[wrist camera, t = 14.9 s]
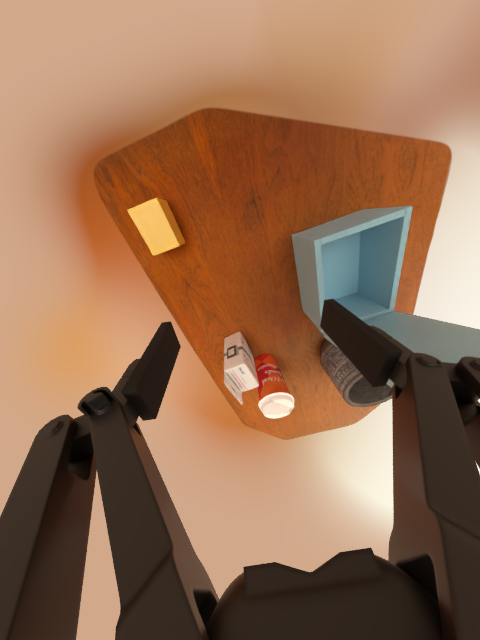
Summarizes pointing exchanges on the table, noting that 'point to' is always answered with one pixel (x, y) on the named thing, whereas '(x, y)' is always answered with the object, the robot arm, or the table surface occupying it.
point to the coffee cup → (272, 388)
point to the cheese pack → (157, 225)
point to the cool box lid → (428, 336)
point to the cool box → (352, 262)
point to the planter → (350, 379)
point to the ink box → (239, 366)
